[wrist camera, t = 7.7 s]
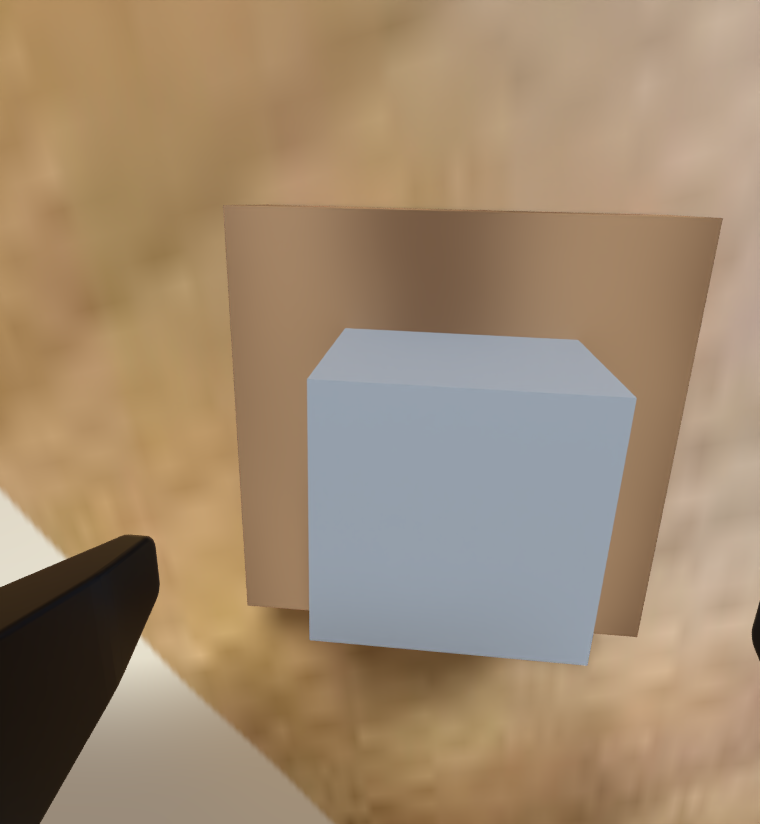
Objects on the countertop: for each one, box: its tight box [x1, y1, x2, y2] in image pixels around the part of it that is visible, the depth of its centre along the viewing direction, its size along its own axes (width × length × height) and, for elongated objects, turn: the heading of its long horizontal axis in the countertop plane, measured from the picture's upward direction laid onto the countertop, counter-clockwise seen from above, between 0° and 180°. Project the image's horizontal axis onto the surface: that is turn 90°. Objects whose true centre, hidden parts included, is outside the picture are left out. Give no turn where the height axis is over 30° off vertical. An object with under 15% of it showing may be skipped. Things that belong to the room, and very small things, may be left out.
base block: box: [223, 205, 723, 637], centre depth 15 cm, size 10×10×3 cm
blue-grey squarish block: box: [307, 328, 637, 666], centre depth 12 cm, size 5×5×4 cm
